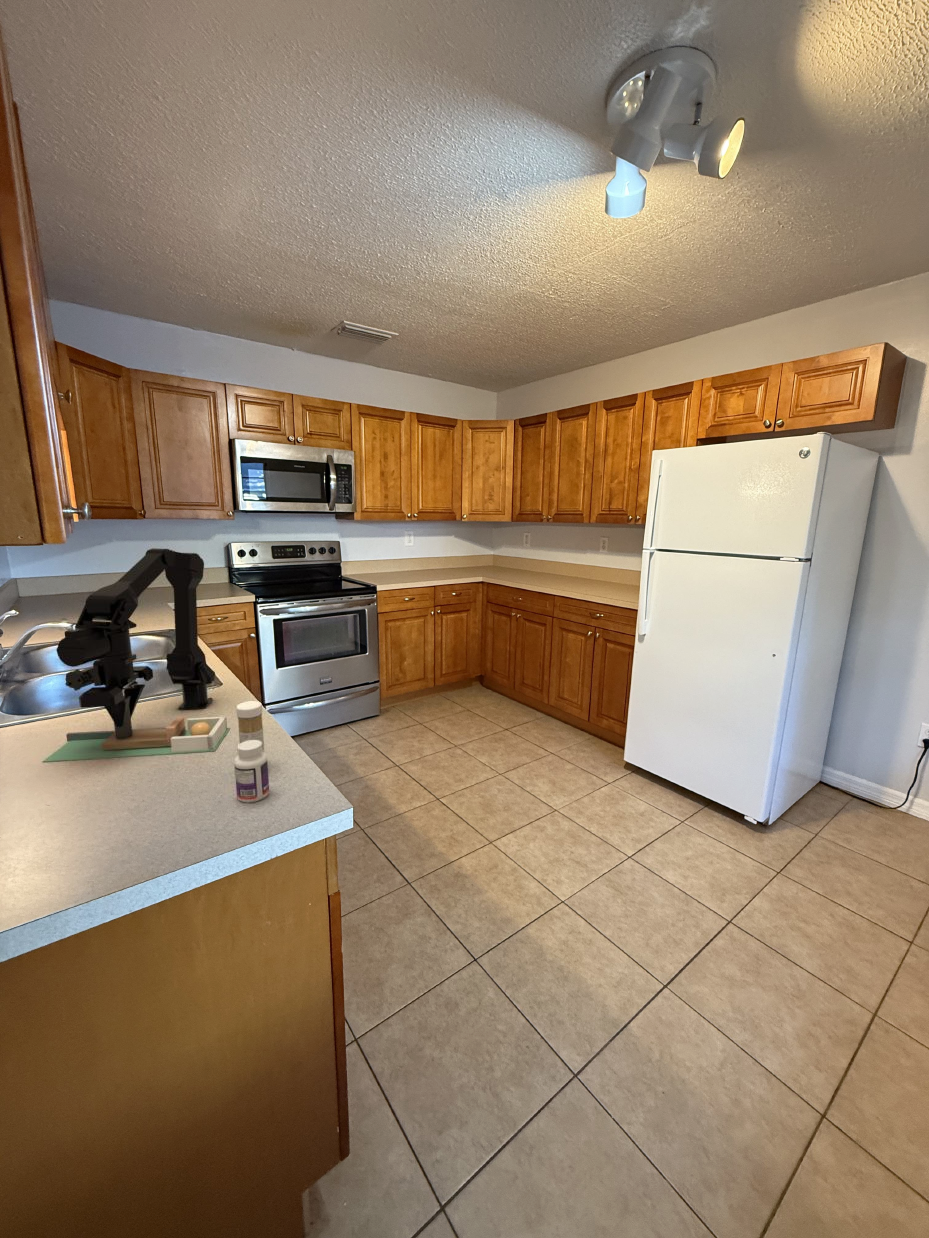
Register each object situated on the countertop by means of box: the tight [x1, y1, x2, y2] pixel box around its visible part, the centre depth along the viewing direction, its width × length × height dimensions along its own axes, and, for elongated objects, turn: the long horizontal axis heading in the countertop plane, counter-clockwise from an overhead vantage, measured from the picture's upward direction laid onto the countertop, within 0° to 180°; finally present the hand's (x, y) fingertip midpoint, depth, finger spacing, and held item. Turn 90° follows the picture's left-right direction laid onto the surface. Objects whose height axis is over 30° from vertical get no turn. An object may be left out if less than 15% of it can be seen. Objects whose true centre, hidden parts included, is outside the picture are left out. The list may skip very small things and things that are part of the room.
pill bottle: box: [233, 740, 270, 803], centre depth 88 cm, size 5×5×10 cm
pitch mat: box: [41, 727, 231, 763], centre depth 108 cm, size 12×32×1 cm, turn 101°
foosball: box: [190, 722, 211, 736], centre depth 110 cm, size 4×4×4 cm
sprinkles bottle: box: [236, 700, 265, 753], centre depth 97 cm, size 5×5×14 cm
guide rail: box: [65, 727, 187, 742], centre depth 111 cm, size 1×24×2 cm, turn 101°
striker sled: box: [102, 705, 186, 750], centre depth 107 cm, size 6×14×10 cm, turn 101°
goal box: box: [171, 716, 228, 752], centre depth 110 cm, size 11×8×3 cm
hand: (123, 723), depth 106 cm, fingers closed on striker sled, 3 cm apart
